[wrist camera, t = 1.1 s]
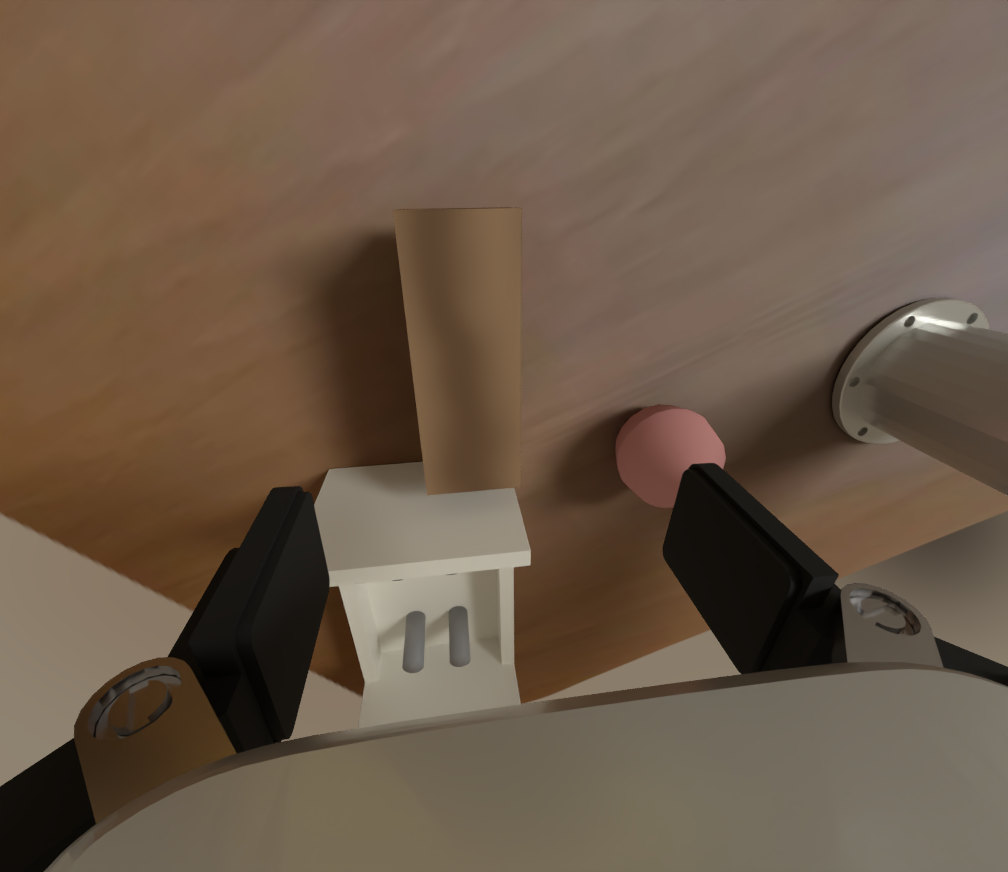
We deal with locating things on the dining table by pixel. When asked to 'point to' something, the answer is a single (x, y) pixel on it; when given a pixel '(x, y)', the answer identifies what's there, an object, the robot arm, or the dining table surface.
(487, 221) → the brown wooden block
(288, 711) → the robot arm
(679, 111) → the dining table surface
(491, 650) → the stand
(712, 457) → the pink vase
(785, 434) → the dining table surface
